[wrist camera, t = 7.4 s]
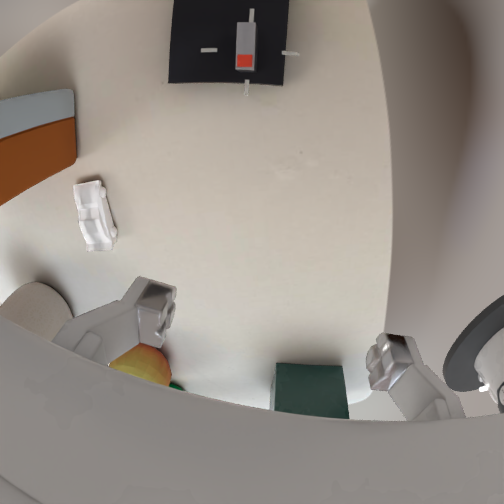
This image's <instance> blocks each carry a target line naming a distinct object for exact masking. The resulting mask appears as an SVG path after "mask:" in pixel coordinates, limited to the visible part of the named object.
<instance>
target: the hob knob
mask: <svg viewBox="0 0 504 504" xmlns="http://www.w3.org/2000/svg"><path fill="white" fill-rule="evenodd" d="M257 54H258V28H257V25H256V22H237V37H236V65H235V69H236V70H238V71H240V72H257Z"/></svg>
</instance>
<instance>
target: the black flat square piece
mask: <svg viewBox="0 0 504 504" xmlns="http://www.w3.org/2000/svg"><path fill="white" fill-rule="evenodd" d="M288 9H289V0H174V5H173V16H172V27H171V41H170V57H169V78H168V83H173V84H178V83H241V84H245V88H244V95H249V84H260V85H273V86H283V78H284V65H285V55H290V56H299V52H291V51H286V38H287V24H288ZM237 22H256V25H257V28H258V54H257V72H240V71H238V70H236V69H235V65H236V37H237Z"/></svg>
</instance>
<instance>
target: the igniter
mask: <svg viewBox="0 0 504 504" xmlns="http://www.w3.org/2000/svg"><path fill="white" fill-rule="evenodd" d="M269 410H272V411H278V412H285V413H292V414H299V415H307V416H316V417H326V418H337V419H349V411H348V403H347V395H346V388H345V381H344V374H343V368H342V366H321V365H301V364H286V363H276V367H275V372H274V377H273V382H272V387H271V393H270V409H269Z"/></svg>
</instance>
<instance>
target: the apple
mask: <svg viewBox="0 0 504 504" xmlns="http://www.w3.org/2000/svg"><path fill="white" fill-rule="evenodd" d="M109 367H111V368H114V369H116V370H119V371H122V372H125V373H128V374H130V375H133V376H136V377H139V378H142V379H145V380H148V381H151V382H154V383H158V384H161V385H164V386H168V387H169V384H170V380H171V375H172V374H171V370H170V367H169V364H168V361H167V359H166V358H165V357H164V356H163V354H162V353H161V352H160V351H158V350H157V349H156V348H154V347H152V346H150V345H147V344H143V343H139V344H138V345H136V346H135V347H133V348H132V349H130V350H129V351H127V352H125V353H124V354H122V355H121V356H119V357H118V358H116V359H115V360H113V361H112V362H110V364H109Z"/></svg>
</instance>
